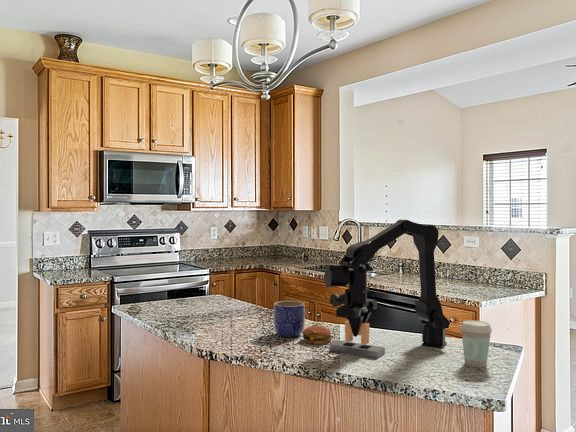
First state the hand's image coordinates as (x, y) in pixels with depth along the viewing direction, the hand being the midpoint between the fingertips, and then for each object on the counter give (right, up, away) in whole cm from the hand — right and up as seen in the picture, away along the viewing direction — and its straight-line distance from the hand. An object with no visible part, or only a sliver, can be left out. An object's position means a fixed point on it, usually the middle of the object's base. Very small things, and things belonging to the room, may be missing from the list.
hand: (357, 335), depth 159 cm
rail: (0, -5, 0) cm, 5 cm away
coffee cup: (+33, -6, -12) cm, 35 cm away
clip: (0, -2, 0) cm, 2 cm away
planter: (-21, -5, +21) cm, 30 cm away
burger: (-12, -5, +13) cm, 18 cm away
